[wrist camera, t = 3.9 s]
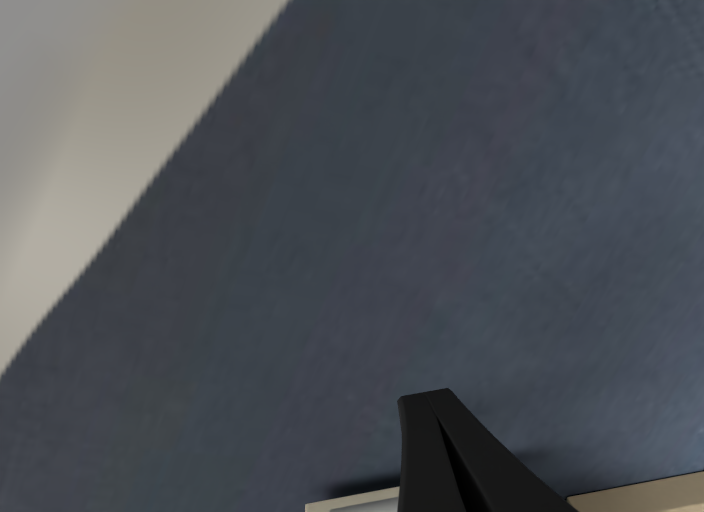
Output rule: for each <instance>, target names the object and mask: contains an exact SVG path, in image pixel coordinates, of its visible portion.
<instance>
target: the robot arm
mask: <svg viewBox="0 0 704 512" xmlns="http://www.w3.org/2000/svg"><path fill="white" fill-rule="evenodd" d="M397 402H398V409H399V416H400V424H401V431H402V460H401V479H400V488H399V498H398V508H397V512H579V511H578V510H577V509H575V508H574V507H573V506H572V505H570V504H569V503H568V502H567V501H565V500H564V499H563V498H562V497H561V496H559V495H558V494H557V493H556V492H555V491H553V490H552V489H551V488H550V487H549V486H548V485H546V484H545V483H544V482H543V481H542V480H541V479H540V478H538V477H537V476H536V475H535V474H534V473H533V472H532V471H530V470H529V469H528V468H527V467H526V466H525V465H524V464H523V463H522V462H520V461H519V460H518V459H517V458H516V457H515V456H514V455H513V454H512V453H511V452H510V451H509V450H508V449H507V448H506V447H505V446H504V445H503V444H501V443H500V442H499V441H498V440H497V439H496V438H495V437H494V436H493V435H492V434H491V433H490V432H489V431H488V430H487V429H486V428H485V427H484V426H483V425H482V424H481V423H480V422H479V421H478V419H477V418H476V417H475V416H474V415H473V414H472V413H471V412H470V411H469V410H468V409H467V408H466V407H465V405H464V404H463V403H462V402H461V401H460V400H459V399H458V398H457V396H456V395H455V394H454V393H453V392H452V391H451V390H450V389H448V388H445V389H439V390H434V391H428V392H423V393H417V394H412V395H406V396H401V397H400V398H399V399H398V401H397Z"/></svg>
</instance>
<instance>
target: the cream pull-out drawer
mask: <svg viewBox="0 0 704 512" xmlns="http://www.w3.org/2000/svg"><path fill="white" fill-rule="evenodd" d="M399 488H400V486H399V487H394V488H388V489H383V490H378V491H372V492H367V493H362V494H356V495H351V496H346V497H340V498H335V499H330V500H324V501H319V502H314V503H308V504H306V506H305V512H397V508H398V498H399Z"/></svg>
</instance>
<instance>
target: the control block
mask: <svg viewBox="0 0 704 512" xmlns="http://www.w3.org/2000/svg"><path fill="white" fill-rule="evenodd" d="M567 502H568V503H569V504H570V505H572V506H573V507H574V508H575V509H577V510H578V511H579V512H704V471H702V472H697V473H692V474H687V475H681V476H676V477H671V478H666V479H660V480H655V481H650V482H644V483H639V484H634V485H629V486H623V487H618V488H613V489H608V490H602V491H597V492H592V493H587V494H581V495H576V496H571V497H567Z"/></svg>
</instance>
